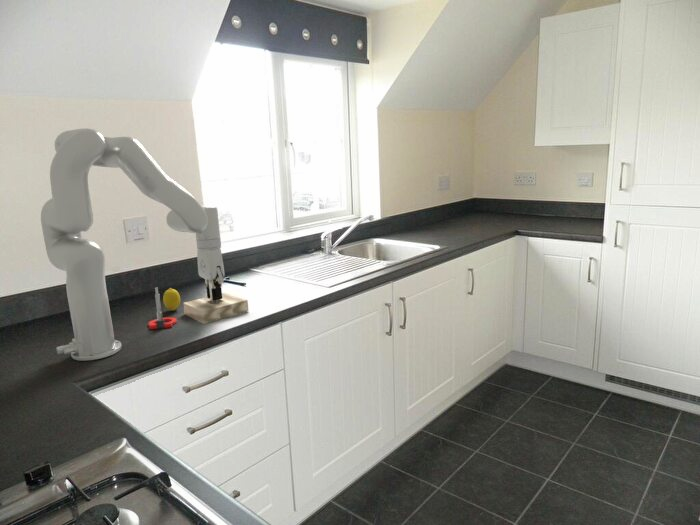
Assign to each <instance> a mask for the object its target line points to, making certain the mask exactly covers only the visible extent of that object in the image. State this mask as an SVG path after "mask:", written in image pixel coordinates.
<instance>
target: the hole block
mask: <svg viewBox="0 0 700 525" xmlns="http://www.w3.org/2000/svg"><path fill="white" fill-rule="evenodd" d="M248 302H249V301H248V299H246V298H243V297H241V296H238V295H235V294H233V293H230V292H227V291H226V292H222V299H220V302H219V303H216V304H211V299H210V298H207V296H205V297H201V298H197V299H193V300H189V301H185V302H183V304H182V305H183V311H184V315H185V316H187V317H189V318H191V319H193V320H195V321H197V322H199V323H201V324H203V325H205V324H208V322H209V323H211V322H215V320H216V321H219V320H218V319H220V320H222V318H223V319H226V318H225V317H227V318H229V316H230V317H233V315H234V316H237V314H238V315H241V314H244V313H243V312H245V313H248V312H247V311H249V303H248ZM240 313H241V314H240Z"/></svg>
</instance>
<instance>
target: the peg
mask: <svg viewBox="0 0 700 525" xmlns="http://www.w3.org/2000/svg"><path fill="white" fill-rule="evenodd" d="M215 278H217V277H215ZM208 282H209V291H210V299H211V304H216V303H219V302H220V299H219V300H215V301H214V300H213V298H212V281H211V280H208ZM215 282H216V281H215Z"/></svg>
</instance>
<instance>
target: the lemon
mask: <svg viewBox="0 0 700 525" xmlns="http://www.w3.org/2000/svg"><path fill="white" fill-rule="evenodd" d="M162 298H163V299H162V302H163V305H164V306H165V308H166V309H168V310H171V311H172V312H174V311H175V310H176V309H177V308H179V306H180V305H181V296H180V293H179V292H178V290H176V289H174V288H172V287H169V288H168V289H167V290H165V291H164V293H163V297H162Z"/></svg>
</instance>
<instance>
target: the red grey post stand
mask: <svg viewBox="0 0 700 525" xmlns="http://www.w3.org/2000/svg"><path fill="white" fill-rule="evenodd" d="M154 292H155V294H154V298H155V305H156V318H155V319H153V320H149V322H147V323H148V326H149V330H160V329H168V328H173V325H175V324H176V323H177V322H178V320H177V318H176V317H169V316H168V317H163V311H162V307H161V298H160V293H159V288H158V287H154Z"/></svg>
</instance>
